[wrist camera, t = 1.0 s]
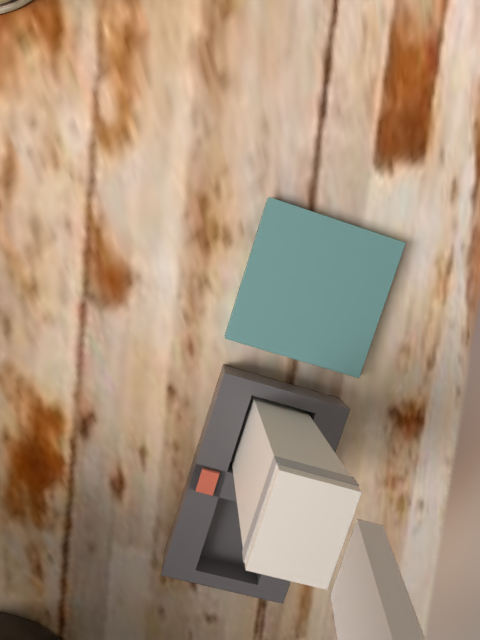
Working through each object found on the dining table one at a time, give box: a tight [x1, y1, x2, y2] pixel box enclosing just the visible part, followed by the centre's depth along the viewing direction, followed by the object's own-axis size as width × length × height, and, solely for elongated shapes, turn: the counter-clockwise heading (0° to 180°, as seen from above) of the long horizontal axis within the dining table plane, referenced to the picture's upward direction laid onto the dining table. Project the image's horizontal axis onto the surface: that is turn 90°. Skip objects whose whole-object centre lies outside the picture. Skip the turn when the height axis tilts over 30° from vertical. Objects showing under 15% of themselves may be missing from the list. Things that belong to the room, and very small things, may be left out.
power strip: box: [161, 365, 350, 604], centre depth 32 cm, size 15×9×3 cm, turn 163°
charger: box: [231, 396, 362, 590], centre depth 27 cm, size 5×4×12 cm
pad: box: [225, 197, 405, 378], centre depth 32 cm, size 10×10×1 cm
